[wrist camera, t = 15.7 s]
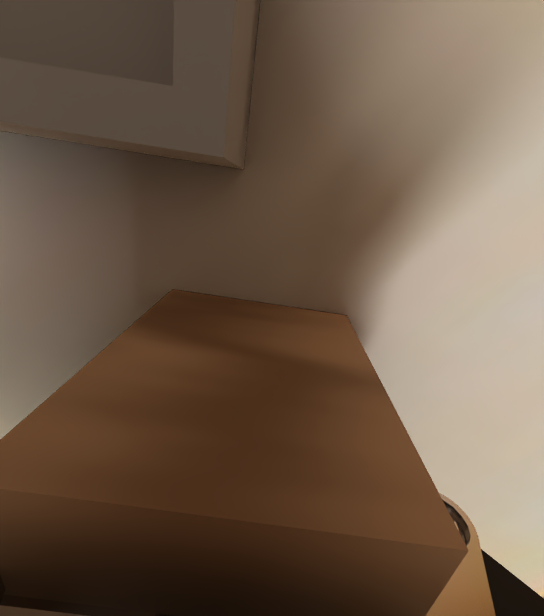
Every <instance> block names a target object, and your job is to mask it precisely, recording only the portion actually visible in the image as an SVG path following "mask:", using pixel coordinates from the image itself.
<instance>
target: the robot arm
mask: <svg viewBox="0 0 544 616" xmlns="http://www.w3.org/2000/svg"><path fill="white" fill-rule="evenodd" d="M0 440H1V439H0ZM439 494H440V493H439ZM440 496H441V498H442V500H443V502H444V504H445V506H446V508H447V510H448V512H449V514H450V516H451V518H452V519H453V521H454V523H455V525H456V527H457V529H458V531H459V533H460V535H461V537H462V539H463V541H464V543H465V544H466V546H467V548H468V550H469V551H468V553H467V554H466V556H465V557H464V559H463V560H462V562H461V563H460V565H459V566H458V568H457V569H456V571H455V572H454V574H453V575H452V577H451V578H450V580H449V581H448V583H447V584H446V586H445V587H444V589H443V590H442V592H441V593H440V595H439V596H438V598H437V599H436V601H435V602H434V604H433V605H432V607H431V608H430V610H429V611H428V613H427V614H426V616H544V599H543V598H542V597H541V596H540V595H538V594H537V593H536V592H535V591H533V590H532V589H531V588H530V587H528V586H527V585H526V584H524V583H523V582H522V581H521V580H519V579H518V578H517V577H516V576H514V575H513V574H512V573H511V572H509V571H508V570H507V569H506V568H504V567H503V566H502V565H501V564H499V563H498V562H497V561H496V560H494V559H493V558H492V557H490V556H489V555H488V554H487V553H485V552H484V551H483V550H482V549H481V547H480V543H479V538H478V535H477V532H476V530H475V527H474V525H473V524H472V522H471V521H470V519H469V517H468V516H467V515H466V514H465V513H464V511H463V510H462V509H461V508H460V507H459V506H458V505H457V504H455V503H454V502H453V501H452V500H450V499H449V498H447V497H446V496H444V495H442V494H440ZM5 590H6V589H5V586H4V583H3V580H2V578H1V575H0V603H1V601H2V598H3V595H4V592H5ZM0 616H87V615H78V614H70V613H61V612H53V611H44V610H36V609H27V608H19V607H10V606H2V605H0Z"/></svg>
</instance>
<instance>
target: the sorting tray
mask: <svg viewBox="0 0 544 616" xmlns="http://www.w3.org/2000/svg"><path fill="white" fill-rule="evenodd" d="M259 10H260V0H0V131H6V132H13V133H19V134H25V135H31V136H38V137H44V138H50V139H56V140H63V141H69V142H75V143H81V144H88V145H94V146H100V147H107V148H113V149H119V150H125V151H132V152H138V153H144V154H150V155H157V156H163V157H169V158H175V159H182V160H188V161H194V162H201V163H207V164H213V165H219V166H226V167H232V168H238V169H244V162H245V151H246V141H247V131H248V121H249V111H250V101H251V91H252V81H253V70H254V60H255V50H256V40H257V30H258V20H259Z"/></svg>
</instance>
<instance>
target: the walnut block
mask: <svg viewBox="0 0 544 616" xmlns="http://www.w3.org/2000/svg"><path fill="white" fill-rule="evenodd" d="M468 551H469V550H468V548H467V546H466V544H465V543H464V541H463V539H462V537H461V535H460V533H459V531H458V529H457V527H456V525H455V523H454V521H453V519H452V518H451V516H450V514H449V512H448V510H447V508H446V506H445V504H444V502H443V500H442V498H441V496H440V494H439V493H438V491H437V489H436V487H435V485H434V483H433V481H432V479H431V477H430V475H429V473H428V471H427V469H426V468H425V466H424V464H423V462H422V460H421V458H420V456H419V454H418V452H417V450H416V448H415V446H414V444H413V443H412V441H411V439H410V437H409V435H408V433H407V431H406V429H405V427H404V425H403V423H402V421H401V419H400V417H399V416H398V414H397V412H396V410H395V408H394V406H393V404H392V402H391V400H390V398H389V396H388V394H387V392H386V391H385V389H384V387H383V385H382V383H381V381H380V379H379V377H378V375H377V373H376V371H375V369H374V367H373V366H372V364H371V362H370V360H369V358H368V356H367V354H366V352H365V350H364V348H363V346H362V344H361V342H360V341H359V339H358V337H357V335H356V333H355V331H354V329H353V327H352V325H351V323H350V321H349V319H348V317H347V316H346V315H341V314H334V313H327V312H321V311H314V310H307V309H300V308H294V307H287V306H280V305H274V304H267V303H260V302H254V301H247V300H240V299H233V298H227V297H220V296H213V295H207V294H200V293H193V292H187V291H180V290H173V289H172V290H171V291H170V292H169V293H168V294H167V295H166V296H164V297H163V298H162V299H161V300H160V301H159V302H158V303H156V304H155V305H154V306H153V307H152V308H151V309H150V310H148V311H147V312H146V313H145V314H144V315H143V316H142V317H140V318H139V319H138V320H137V321H136V322H135V323H134V324H132V325H131V326H130V327H129V328H128V329H127V330H125V331H124V332H123V333H122V334H121V335H120V336H119V337H117V338H116V339H115V340H114V341H113V342H112V343H111V344H109V345H108V346H107V347H106V348H105V349H104V350H103V351H101V352H100V353H99V354H98V355H97V356H96V357H95V358H93V359H92V360H91V361H90V362H89V363H88V364H87V365H85V366H84V367H83V368H82V369H81V370H80V371H79V372H77V373H76V374H75V375H74V376H73V377H72V378H71V379H69V380H68V381H67V382H66V383H65V384H64V385H63V386H61V387H60V388H59V389H58V390H57V391H56V392H55V393H53V394H52V395H51V396H50V397H49V398H48V399H47V400H45V401H44V402H43V403H42V404H41V405H40V406H38V407H37V408H36V409H35V410H34V411H33V412H32V413H30V414H29V415H28V416H27V417H26V418H25V419H24V420H22V421H21V422H20V423H19V424H18V425H17V426H16V427H14V428H13V429H12V430H11V431H10V432H9V433H8V434H6V435H5V436H4V437H3V438H2V439H1V440H0V575H1V578H2V580H3V583H4V586H5V589H6V590H5V592H4V595H3V598H2V601H1V603H0V605H2V606H10V607H19V608H27V609H36V610H44V611H53V612H61V613H70V614H78V615H87V616H426V614H427V613H428V611H429V610H430V608H431V607H432V605H433V604H434V602H435V601H436V599H437V598H438V596H439V595H440V593H441V592H442V590H443V589H444V587H445V586H446V584H447V583H448V581H449V580H450V578H451V577H452V575H453V574H454V572H455V571H456V569H457V568H458V566H459V565H460V563H461V562H462V560H463V559H464V557H465V556H466V554H467V553H468Z"/></svg>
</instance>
